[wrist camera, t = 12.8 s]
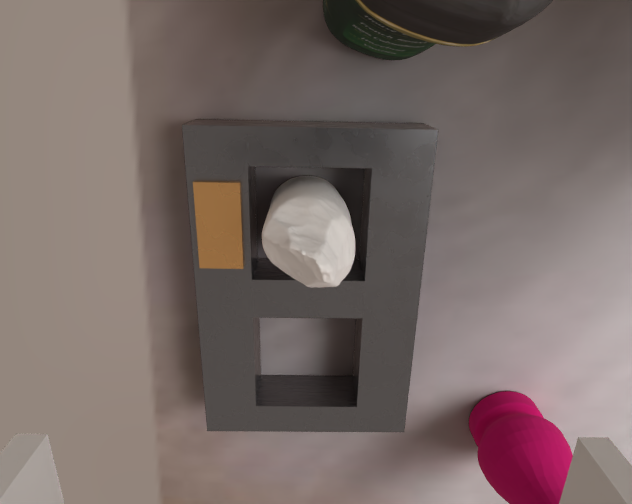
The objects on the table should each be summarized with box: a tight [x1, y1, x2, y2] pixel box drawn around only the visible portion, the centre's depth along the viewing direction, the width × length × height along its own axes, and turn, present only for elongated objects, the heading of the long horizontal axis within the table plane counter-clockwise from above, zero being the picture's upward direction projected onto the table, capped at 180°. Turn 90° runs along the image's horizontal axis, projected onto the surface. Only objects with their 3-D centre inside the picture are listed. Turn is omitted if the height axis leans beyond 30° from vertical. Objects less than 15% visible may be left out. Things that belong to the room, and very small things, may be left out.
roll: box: [262, 176, 355, 288], centre depth 29 cm, size 6×12×6 cm
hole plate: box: [182, 119, 438, 432], centre depth 35 cm, size 16×24×4 cm, turn 179°
